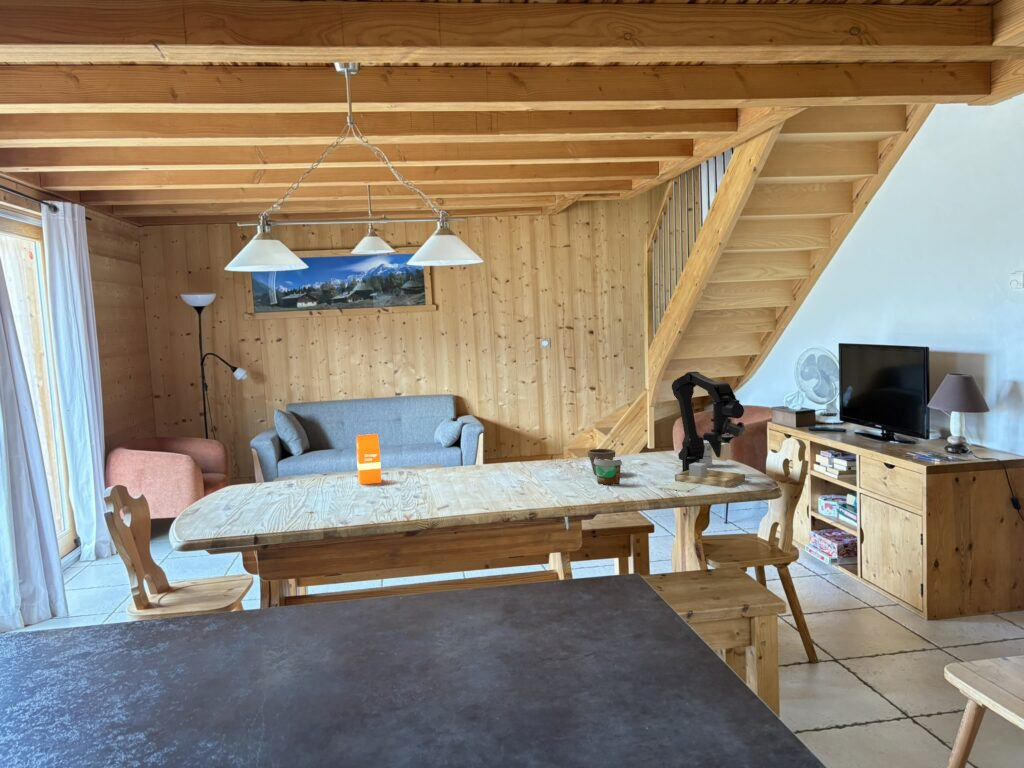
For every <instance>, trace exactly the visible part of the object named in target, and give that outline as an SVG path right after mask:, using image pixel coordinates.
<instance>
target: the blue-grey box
mask: <svg viewBox="0 0 1024 768" xmlns="http://www.w3.org/2000/svg"><path fill="white" fill-rule="evenodd" d="M707 470H708V467H707V464H704V463H692V464H689V476H693V477H702V478H707Z"/></svg>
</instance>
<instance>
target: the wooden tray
mask: <svg viewBox="0 0 1024 768" xmlns="http://www.w3.org/2000/svg"><path fill="white" fill-rule="evenodd" d="M745 480H746V474H745V473H740V472H732V471H724V470H714V469H707V478H702V477H693V476H689V470H687V471H685V472H679V473H675V474H674V482H680V483H688V484H696V485H703V486H709V487H710V486H711V487H717V488H718V487H720V488H725V489H726V488H729V487H732V486H734V485H737V484H739V483H741V482H744V481H745Z"/></svg>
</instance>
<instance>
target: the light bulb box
mask: <svg viewBox="0 0 1024 768" xmlns="http://www.w3.org/2000/svg"><path fill="white" fill-rule="evenodd" d="M704 446H705V447H704V448H705V451H704V455H703V459H700V463H704V464H707V468H712V467H713V451H712V447H711V445H710V443H709V442H708V441H707V440H704Z"/></svg>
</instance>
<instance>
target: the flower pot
mask: <svg viewBox="0 0 1024 768" xmlns="http://www.w3.org/2000/svg"><path fill="white" fill-rule="evenodd" d="M587 457H588V458H589V460H590V463H591V468H592V472H593V474H594V475H595V476H597V474H596V465H595V464H594V459H595V457H598V459H610V460H614V458H615V457H616V450H615V449H611V448H593V449H589V450H587Z"/></svg>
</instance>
